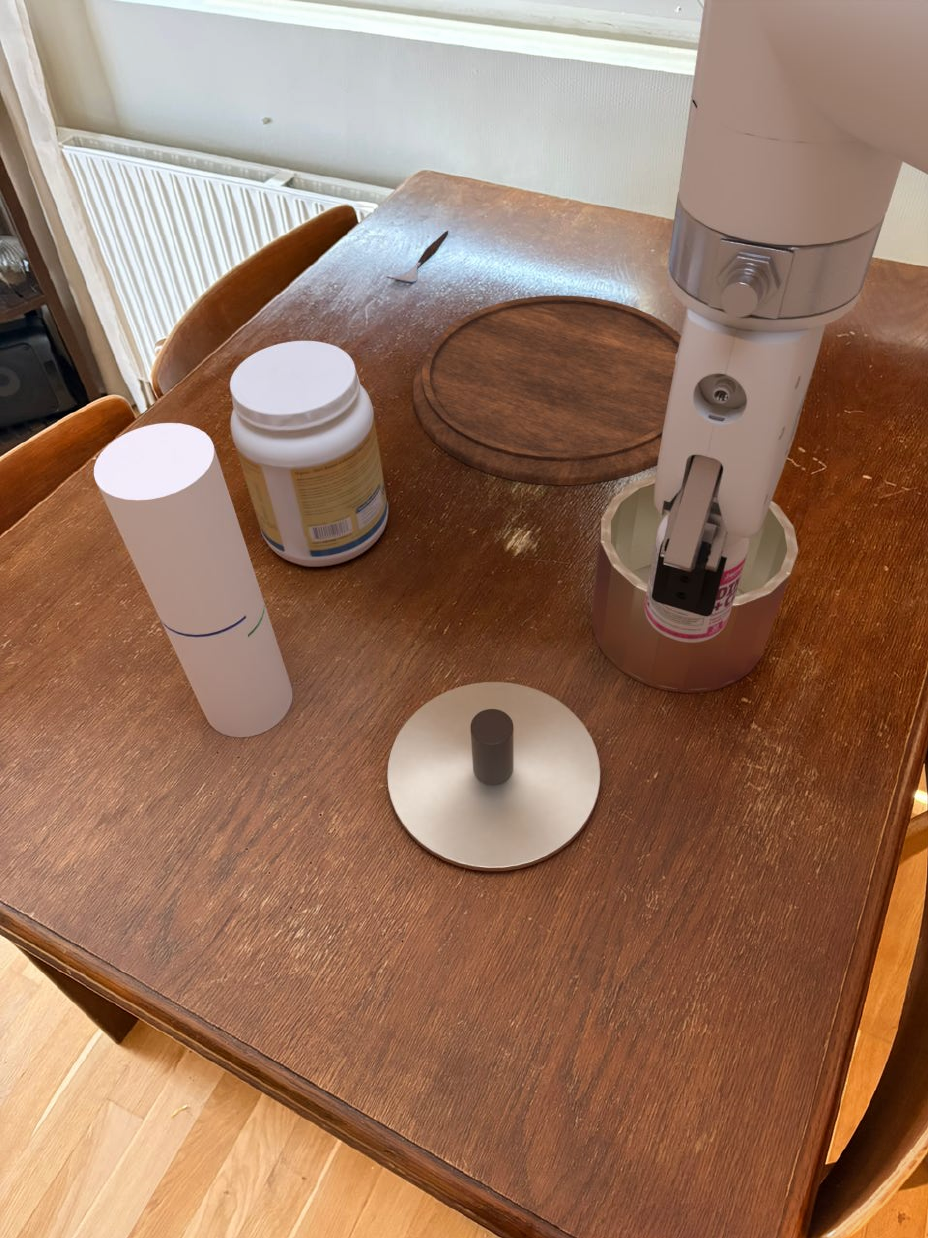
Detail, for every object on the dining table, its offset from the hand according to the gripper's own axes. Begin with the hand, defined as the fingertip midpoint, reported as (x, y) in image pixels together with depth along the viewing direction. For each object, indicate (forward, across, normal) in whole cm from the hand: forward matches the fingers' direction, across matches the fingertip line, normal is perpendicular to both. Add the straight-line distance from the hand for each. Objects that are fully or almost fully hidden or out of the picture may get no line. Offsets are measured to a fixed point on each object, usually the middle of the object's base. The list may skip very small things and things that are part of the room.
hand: (697, 567), depth 48 cm
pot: (+23, +16, +2) cm, 28 cm away
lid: (+23, -4, +11) cm, 26 cm away
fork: (+24, +63, +50) cm, 84 cm away
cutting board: (+23, +43, +24) cm, 55 cm away
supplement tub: (+23, +15, +36) cm, 46 cm away
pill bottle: (+4, 0, 0) cm, 4 cm away
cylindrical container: (+23, -6, +32) cm, 40 cm away
